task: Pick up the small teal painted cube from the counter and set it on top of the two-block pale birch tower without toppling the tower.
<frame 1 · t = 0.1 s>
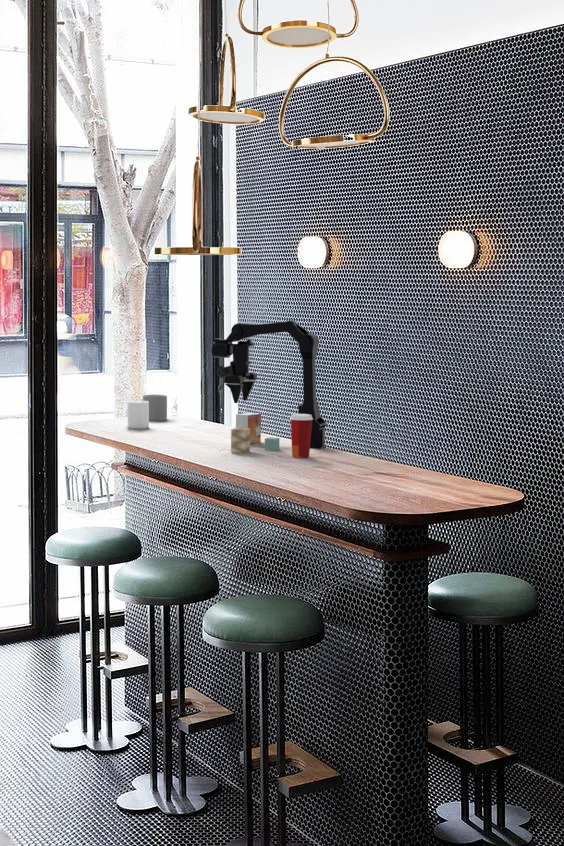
hand: (240, 401, 386), 15 cm above the table, fingers open, 9 cm apart
birch upper block: (240, 440, 364), point 4 cm above the table, touching birch lower block
coffee mug: (152, 419, 451), on the table
paper cup: (300, 457, 356), on the table
birch lower block: (240, 452, 365), on the table, touching birch upper block
teal cube: (272, 449, 372), on the table
small box: (248, 443, 387), on the table
mug: (135, 427, 424), on the table
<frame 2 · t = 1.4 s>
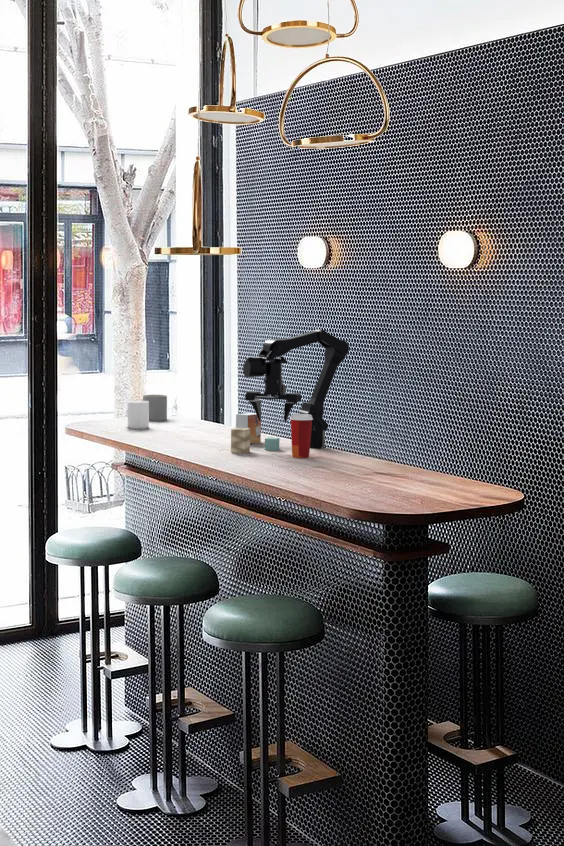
hand: (272, 421, 370), 10 cm above the table, fingers open, 9 cm apart
nothing on the table moved.
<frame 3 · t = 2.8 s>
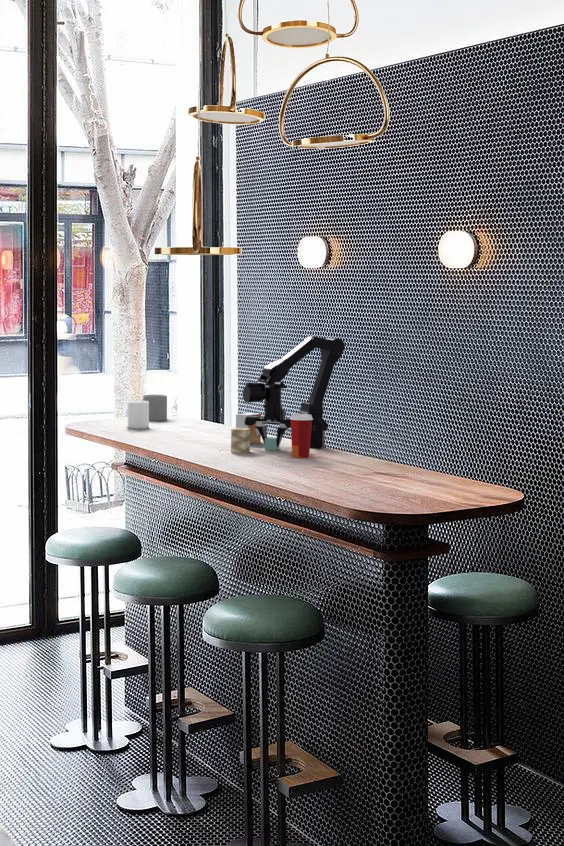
hand: (272, 446, 371), 1 cm above the table, fingers closed on teal cube, 4 cm apart
teal cube: (272, 449, 372), on the table, touching gripper
everything else where it was.
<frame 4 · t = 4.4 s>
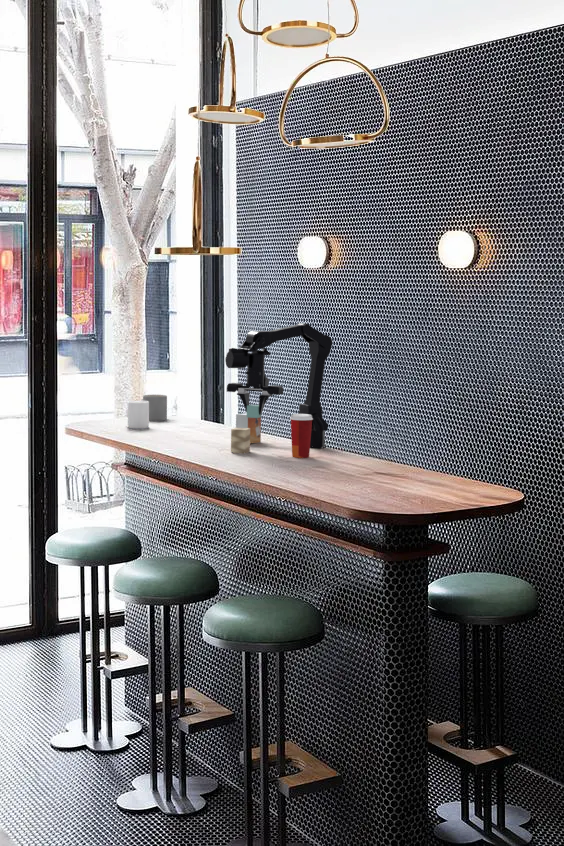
hand: (254, 414, 366), 13 cm above the table, fingers closed on teal cube, 4 cm apart
teal cube: (254, 417, 366), point 12 cm above the table, touching gripper
everything else where it was.
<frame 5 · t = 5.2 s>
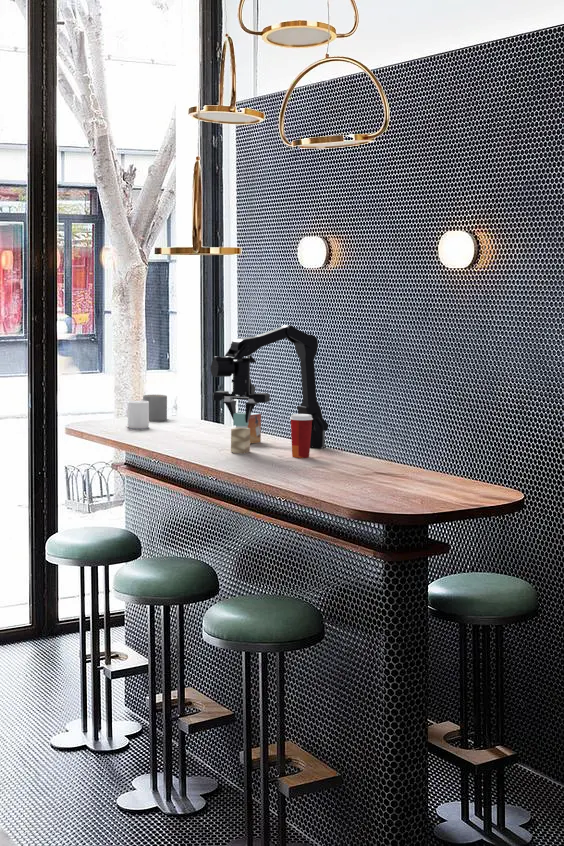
hand: (240, 422, 363), 10 cm above the table, fingers closed on teal cube, 4 cm apart
teal cube: (240, 425, 363), point 9 cm above the table, touching gripper
everything else where it was.
when the fingers open (10 cm above the table, at t = 5.9 s): teal cube drops 1 cm, resting on birch upper block.
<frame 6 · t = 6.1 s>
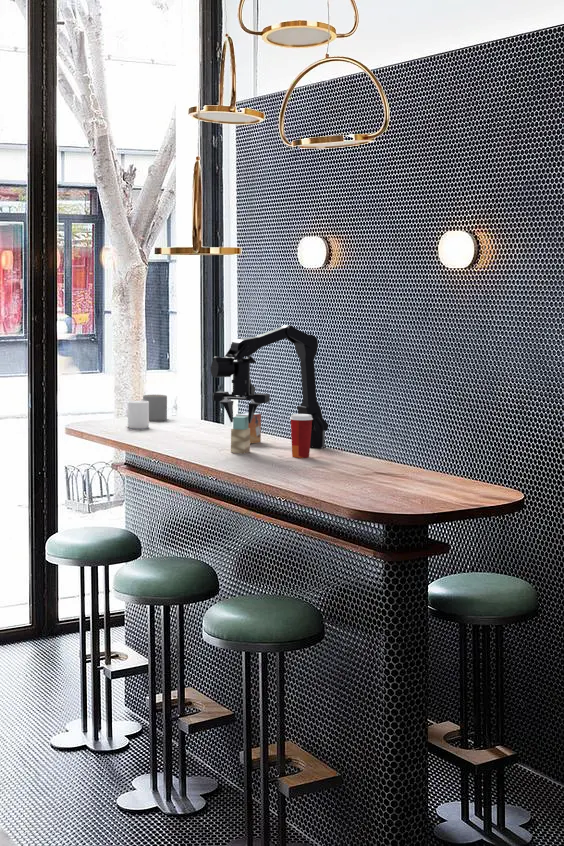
hand: (240, 422, 363), 10 cm above the table, fingers open, 6 cm apart
birch upper block: (240, 440, 364), point 4 cm above the table, touching birch lower block, teal cube
teal cube: (240, 428, 364), point 8 cm above the table, touching birch upper block
everything else where it was.
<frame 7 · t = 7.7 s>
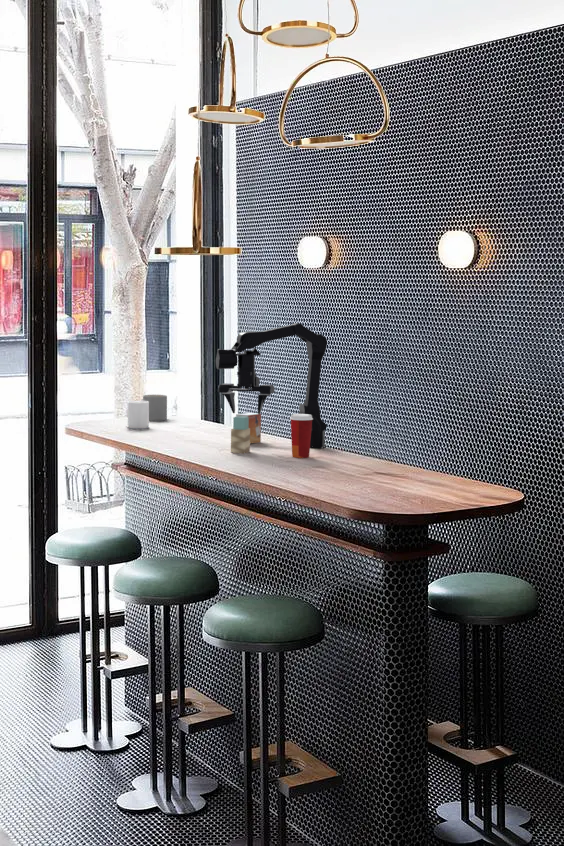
hand: (246, 413, 371), 12 cm above the table, fingers open, 9 cm apart
nothing on the table moved.
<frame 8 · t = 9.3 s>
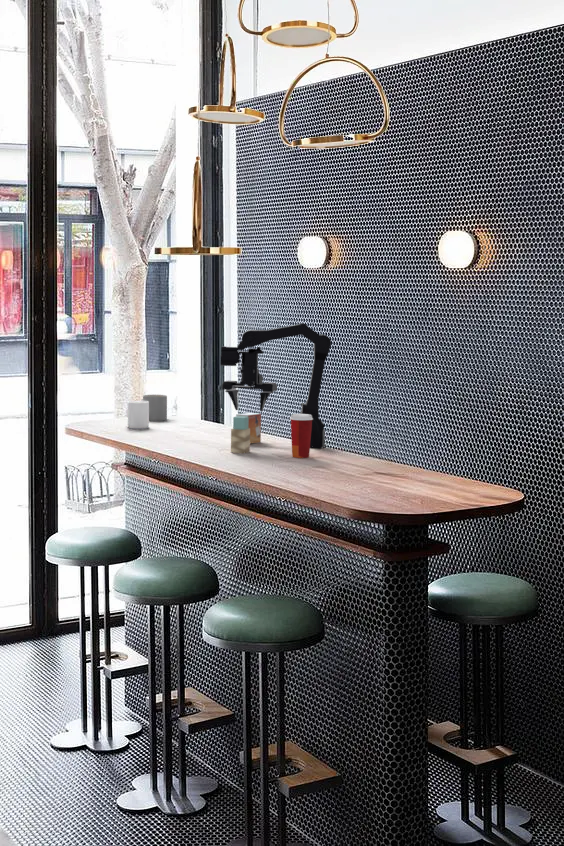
hand: (249, 410, 377), 13 cm above the table, fingers open, 9 cm apart
nothing on the table moved.
at the end: teal cube 0.1 cm off-centre on the birch upper block, point 4.0 cm above the birch upper block's base; teal cube tilted 0°; birch upper block tilted 0° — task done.
